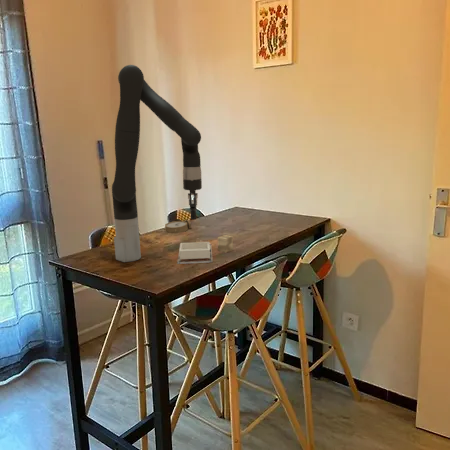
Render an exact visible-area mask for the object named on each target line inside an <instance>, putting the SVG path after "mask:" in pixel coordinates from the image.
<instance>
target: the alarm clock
mask: <svg viewBox="0 0 450 450" xmlns="http://www.w3.org/2000/svg"><path fill="white" fill-rule="evenodd" d="M164 227H165V228H163V230H164V231H165V232H166V233H169V234H181V233H185V232H187V231H188V230H189V229H191V227H192V223H191V220H188V219H185V220H182V219H179V218H177V219H174V220H173V221H170V222H167V223H165V225H164Z"/></svg>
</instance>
